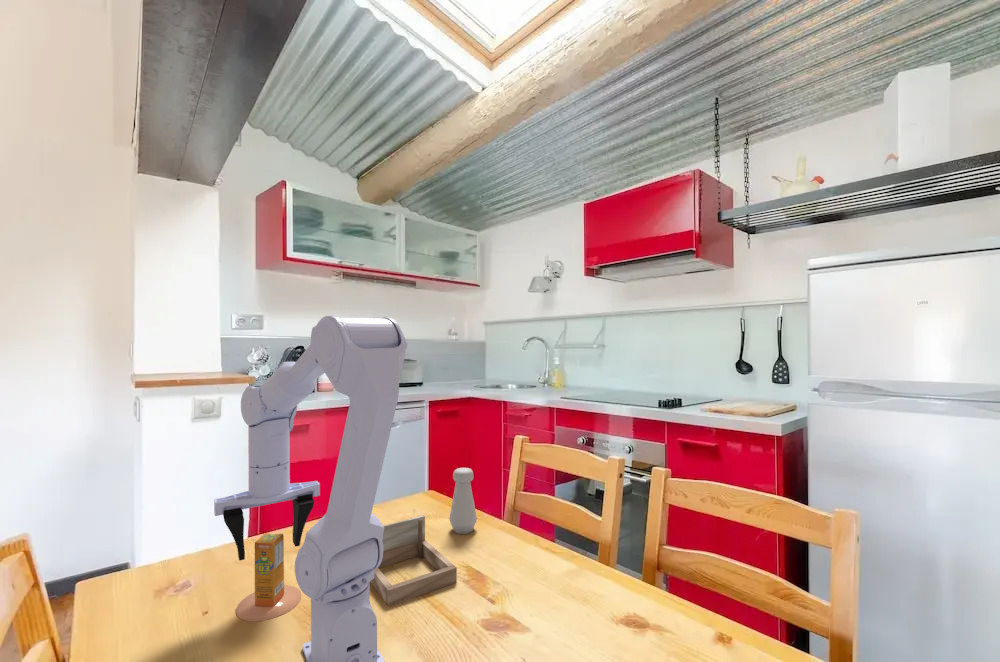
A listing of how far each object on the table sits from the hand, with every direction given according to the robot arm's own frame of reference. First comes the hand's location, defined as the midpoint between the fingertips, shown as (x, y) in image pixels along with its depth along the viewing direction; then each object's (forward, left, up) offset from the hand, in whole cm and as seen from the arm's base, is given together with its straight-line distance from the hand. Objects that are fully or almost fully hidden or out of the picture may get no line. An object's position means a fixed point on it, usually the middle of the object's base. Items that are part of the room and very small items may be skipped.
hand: (269, 550), depth 70 cm
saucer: (0, 0, -8) cm, 8 cm away
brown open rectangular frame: (-4, -21, -8) cm, 23 cm away
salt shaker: (+6, -38, -9) cm, 39 cm away
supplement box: (0, 0, -8) cm, 8 cm away
